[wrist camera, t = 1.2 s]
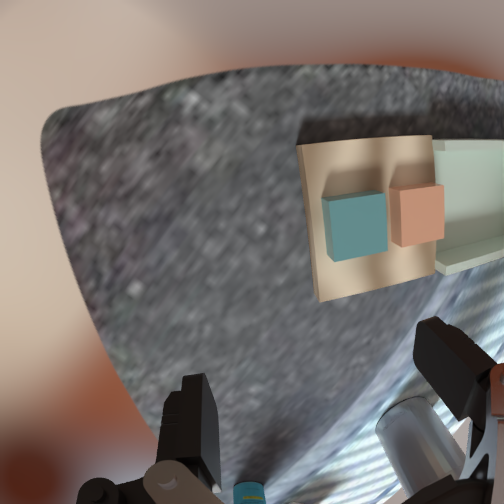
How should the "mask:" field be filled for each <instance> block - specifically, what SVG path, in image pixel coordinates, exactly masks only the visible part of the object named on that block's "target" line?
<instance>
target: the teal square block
mask: <svg viewBox="0 0 504 504" xmlns="http://www.w3.org/2000/svg"><path fill="white" fill-rule="evenodd" d="M321 202H322V211H323V220H324V230H325V240H326V251H327V255H328V256H329V257H330V258H331V259H332V260H333V261H334V262H338V261H343V260H348V259H352V258H357V257H362V256H367V255H371V254H376V253H381V252H385V251H388V238H387V214H386V198H385V193H383V192H380V191H377V190H369V191H362V192H355V193H348V194H342V195H335V196H329V197H322V198H321Z"/></svg>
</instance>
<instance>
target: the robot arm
mask: <svg viewBox="0 0 504 504" xmlns="http://www.w3.org/2000/svg"><path fill="white" fill-rule="evenodd" d="M413 360H414V363H415V365H416V367H417V369H418V370H419V371H420V372H421V374H422V375H423V376H424V377H425V379H426V380H427V381H428V383H429V384H430V385H431V386H432V388H433V389H434V390H435V391H436V393H437V394H438V395H439V397H440V398H441V399H442V401H443V402H444V403H445V404H446V406H447V407H448V408H449V410H450V411H451V412H452V414H453V415H454V416H455V418H456V419H457V420H458V422H459V421H461V420H463V419H465V418H466V417H468V416H469V417H470V418H471V422H470V424H469V433H468V443H467V451H466V455H465V454H464V452H463V451H462V450H461V448H460V447H459V445H458V444H457V442H456V441H455V439H454V438H453V436H452V435H451V434H450V432H449V431H448V429H447V428H446V426H445V425H444V424H443V422H442V421H441V419H440V418H439V416H438V415H437V413H436V412H435V411H434V409H433V408H432V407H431V405H430V404H429V402H428V401H427V400H426V399H425V398H422V397H414V398H410V399H407V400H405V401H403V402H401V403H399V404H397V405H396V406H394V407H393V408H392V409H390V410H389V411H388V412H387V413H386V414H385V415H384V416H383V417H382V418H381V419H380V421H379V422H378V424H377V426H376V434H377V436H378V438H379V440H380V442H381V444H382V446H383V448H384V450H385V453H386V455H387V457H388V459H389V461H390V463H391V465H392V467H393V469H394V471H395V473H396V475H397V477H398V479H399V481H400V483H401V485H402V488H403V490H404V492H405V494H406V496H407V498H408V499H407V500H406V501H405V502H403V503H402V504H504V363H500V364H497V363H496V362H495V361H494V360H493V359H492V358H491V357H490V356H489V355H488V354H487V353H486V352H485V351H483V350H482V349H481V348H480V347H479V346H478V345H477V344H475V343H474V341H473V340H472V339H470V338H468V336H467V335H466V334H465V333H464V332H463V331H462V330H460V329H459V328H456V327H454V326H452V325H449V324H448V325H446V324H445V323H444V322H443V321H442V320H441V319H440V318H439V317H437V316H434V317H431V318H428V319H425V320H422V321H420V322H418V324H417V327H416V335H415V342H414V349H413ZM217 492H222V488H221V469H220V448H219V422H218V411H217V406H216V403H215V400H214V397H213V394H212V392H211V389H210V386H209V383H208V380H207V377H206V375H205V373H201V374H194V375H187V376H183V379H182V388H181V391H173V392H171V393H170V395H169V396H168V398H167V399H166V401H165V402H164V407H163V416H162V421H161V427H160V434H159V442H158V449H157V457H156V462H155V464H154V465H152V466H151V467H150V468H149V469H148V470H147V471H146V473H145V475H144V477H142V478H140V479H137V480H134V481H130V482H126V483H122V484H118V485H115V484H114V483H113V482H112V481H110V480H109V479H106V478H93V479H91V480H89V481H87V482H86V483H84V484H83V485H82V487H81V488H80V490H79V493H78V497H77V502H76V504H224V503H223V502H222V501H221V500H220V499H219V498H218V497H216V496H215V495H214V494H213V493H217Z"/></svg>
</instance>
